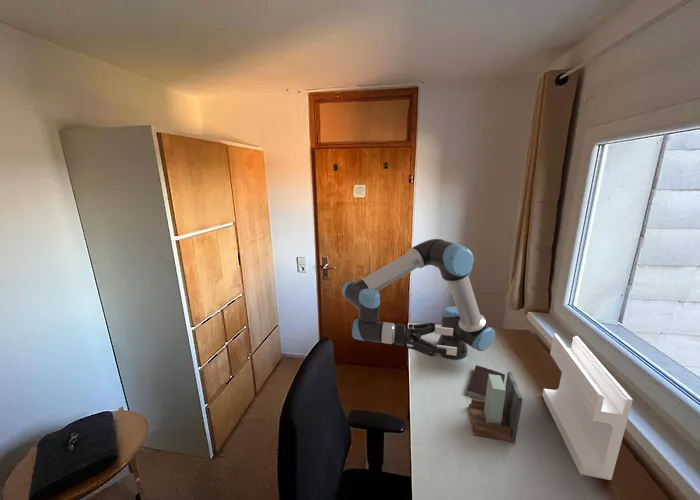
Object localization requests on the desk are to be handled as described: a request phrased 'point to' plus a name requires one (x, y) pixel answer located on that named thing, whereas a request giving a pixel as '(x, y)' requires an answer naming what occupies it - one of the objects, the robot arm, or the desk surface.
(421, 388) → the desk surface
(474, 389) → the book
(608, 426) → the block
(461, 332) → the robot arm
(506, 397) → the slot board
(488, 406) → the grey-green tall block
